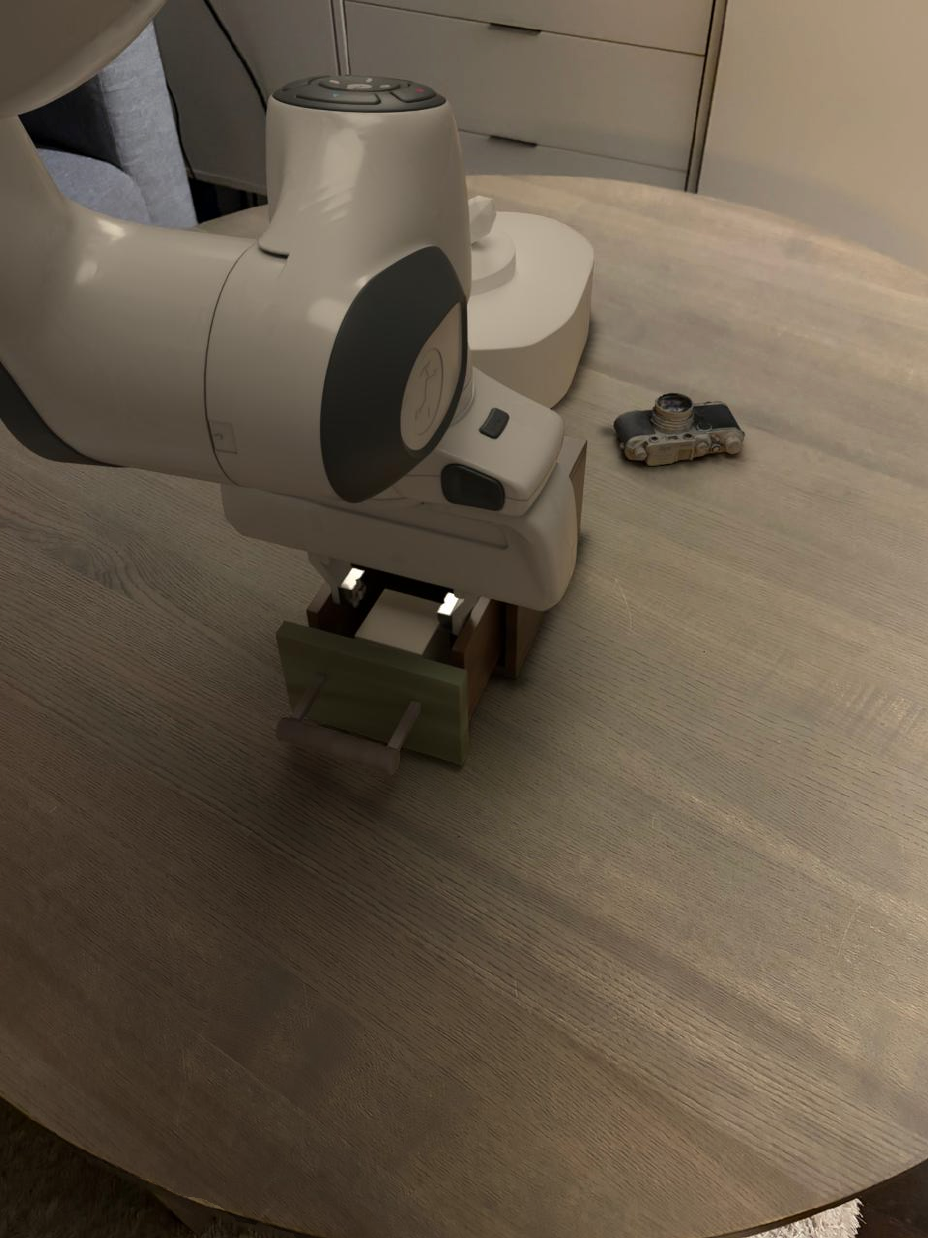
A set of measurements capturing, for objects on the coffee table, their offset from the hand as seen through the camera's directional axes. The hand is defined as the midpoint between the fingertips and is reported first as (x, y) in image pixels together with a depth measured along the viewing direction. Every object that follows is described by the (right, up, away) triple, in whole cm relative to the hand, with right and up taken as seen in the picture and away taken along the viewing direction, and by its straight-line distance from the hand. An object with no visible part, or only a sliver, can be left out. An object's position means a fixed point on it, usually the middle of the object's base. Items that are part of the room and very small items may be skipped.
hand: (401, 612), depth 63 cm
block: (0, -4, +4) cm, 5 cm away
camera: (+21, +14, +23) cm, 34 cm away
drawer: (0, -5, +4) cm, 6 cm away
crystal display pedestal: (+2, +25, +35) cm, 43 cm away
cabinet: (+4, +2, +12) cm, 13 cm away
